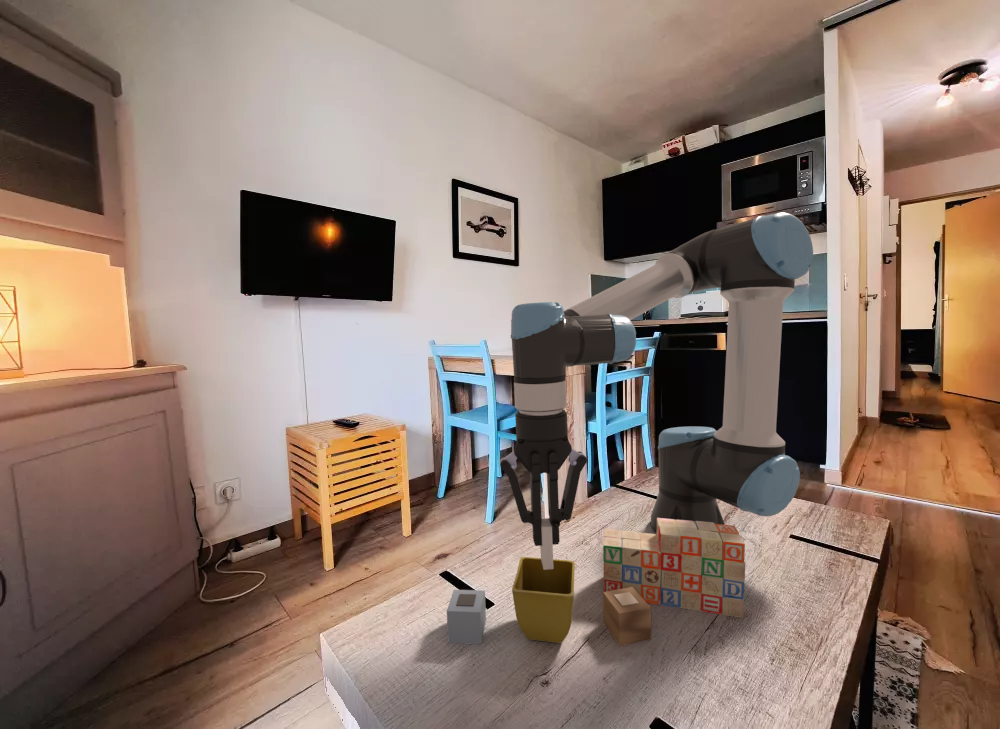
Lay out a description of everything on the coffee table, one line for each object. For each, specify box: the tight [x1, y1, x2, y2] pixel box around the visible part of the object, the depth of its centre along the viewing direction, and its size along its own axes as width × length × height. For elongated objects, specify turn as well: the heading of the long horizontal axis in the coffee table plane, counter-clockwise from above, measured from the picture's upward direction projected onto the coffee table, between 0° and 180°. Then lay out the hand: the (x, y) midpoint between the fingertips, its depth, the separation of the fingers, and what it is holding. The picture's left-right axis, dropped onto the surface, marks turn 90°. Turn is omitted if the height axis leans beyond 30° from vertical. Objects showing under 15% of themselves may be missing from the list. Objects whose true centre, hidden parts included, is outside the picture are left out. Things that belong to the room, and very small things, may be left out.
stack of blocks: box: [602, 518, 746, 618], centre depth 69 cm, size 21×6×12 cm, turn 73°
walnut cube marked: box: [602, 587, 652, 647], centre depth 61 cm, size 5×5×5 cm
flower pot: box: [511, 556, 576, 644], centre depth 62 cm, size 9×9×9 cm
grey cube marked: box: [446, 589, 487, 645], centre depth 62 cm, size 5×5×5 cm
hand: (547, 564), depth 61 cm, fingers closed
